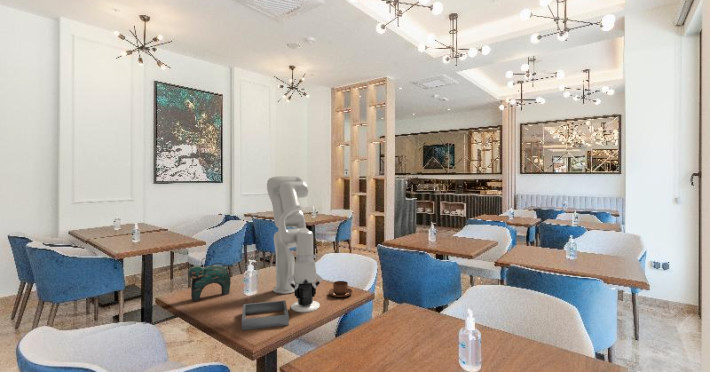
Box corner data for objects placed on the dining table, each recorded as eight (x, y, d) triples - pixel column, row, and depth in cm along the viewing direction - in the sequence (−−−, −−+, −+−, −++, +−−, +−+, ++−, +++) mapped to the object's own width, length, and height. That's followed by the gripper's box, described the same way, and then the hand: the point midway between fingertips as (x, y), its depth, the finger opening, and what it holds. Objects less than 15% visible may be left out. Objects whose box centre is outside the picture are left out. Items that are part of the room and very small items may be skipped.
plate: (289, 303, 169) (289, 301, 169) (317, 300, 172) (317, 299, 172) (292, 313, 156) (292, 312, 156) (322, 310, 160) (322, 308, 160)
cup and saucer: (357, 293, 183) (356, 281, 183) (343, 300, 173) (343, 288, 173) (337, 289, 189) (337, 278, 189) (323, 296, 179) (323, 284, 179)
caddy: (243, 313, 157) (243, 304, 157) (285, 309, 162) (285, 300, 162) (241, 330, 140) (241, 320, 140) (288, 325, 145) (288, 315, 145)
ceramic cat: (190, 303, 170) (189, 261, 170) (186, 299, 175) (185, 258, 175) (232, 294, 183) (231, 255, 182) (227, 291, 188) (226, 253, 187)
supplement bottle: (315, 301, 166) (315, 276, 166) (308, 306, 160) (308, 280, 160) (302, 300, 169) (301, 274, 168) (294, 305, 162) (294, 278, 162)
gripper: (322, 255, 170) (322, 292, 170) (284, 257, 165) (285, 295, 166) (325, 258, 162) (325, 297, 163) (286, 261, 158) (286, 301, 158)
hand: (305, 296), depth 164 cm, fingers closed on supplement bottle, 6 cm apart
